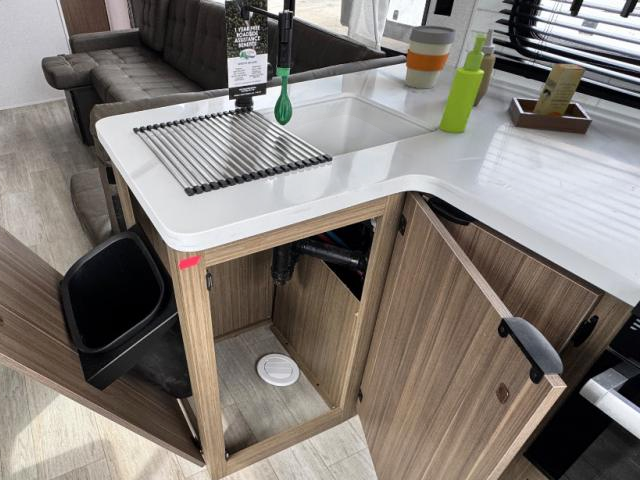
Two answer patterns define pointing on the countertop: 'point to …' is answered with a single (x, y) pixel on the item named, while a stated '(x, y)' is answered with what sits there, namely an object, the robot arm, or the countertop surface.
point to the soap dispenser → (464, 90)
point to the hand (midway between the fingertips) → (598, 16)
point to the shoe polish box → (559, 89)
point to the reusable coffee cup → (427, 54)
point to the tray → (548, 117)
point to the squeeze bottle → (486, 65)
